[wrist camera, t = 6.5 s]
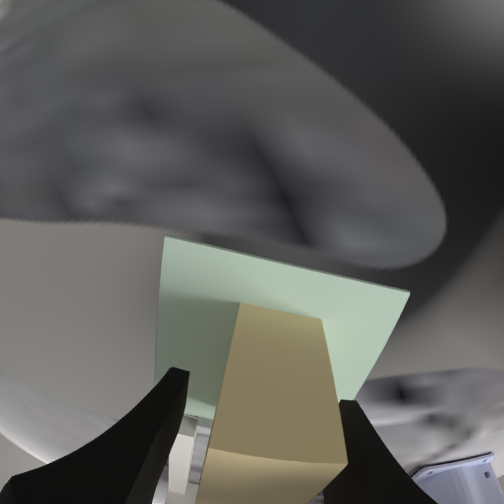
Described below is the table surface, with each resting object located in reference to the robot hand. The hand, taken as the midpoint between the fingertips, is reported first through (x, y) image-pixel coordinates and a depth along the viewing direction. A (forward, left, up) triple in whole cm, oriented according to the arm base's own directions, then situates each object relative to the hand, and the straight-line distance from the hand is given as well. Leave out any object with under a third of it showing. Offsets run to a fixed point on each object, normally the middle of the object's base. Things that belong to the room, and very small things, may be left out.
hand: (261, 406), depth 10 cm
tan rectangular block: (0, 0, -2) cm, 2 cm away
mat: (0, 0, -2) cm, 2 cm away
